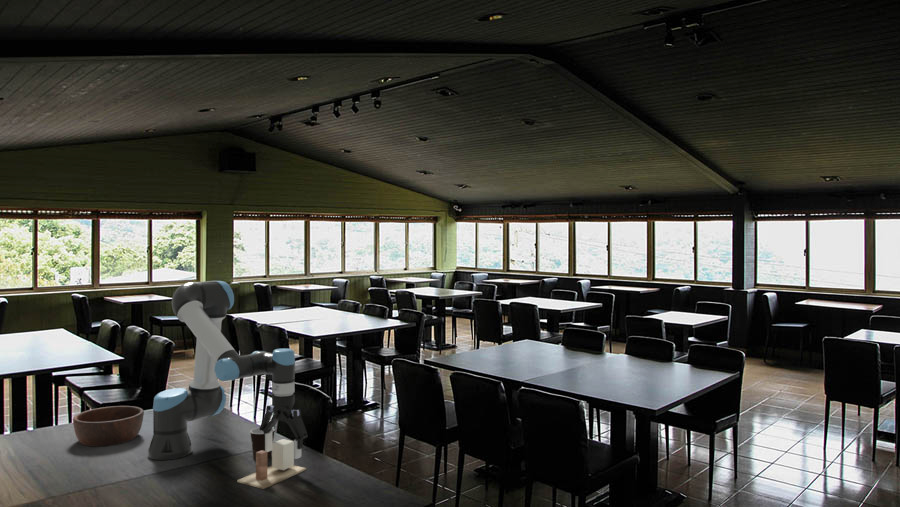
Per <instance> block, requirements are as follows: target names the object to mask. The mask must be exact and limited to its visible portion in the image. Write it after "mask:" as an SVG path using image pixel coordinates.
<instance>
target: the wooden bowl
mask: <svg viewBox="0 0 900 507" xmlns="http://www.w3.org/2000/svg"><path fill="white" fill-rule="evenodd" d="M144 415H145V411H144V409H143V408H141V407H139V406H132V405H131V406H130V405H115V406H114V405H113V406H105V407H104V406H103V407H99V408H98V407H97V408H93V409H88V410H86V411H85V410H84V411H82V412H80V413H77V414H75V415H74V416H73V417H72V418H73V419H72V422H73V423H72V424H73V429H74V433H75V436H76V438H77V440H78V442H79V443H81V444H82V445H84V446H87V447H88V446H89V447H109V446H115V445H119V444H123V443H126V442H127V443H128V442H129V441H131V440H132V441H133V440H134V439H135V438H136V437H137V436H138V435H139V433H140V432H141V429H142V426H143V421H144Z"/></svg>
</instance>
